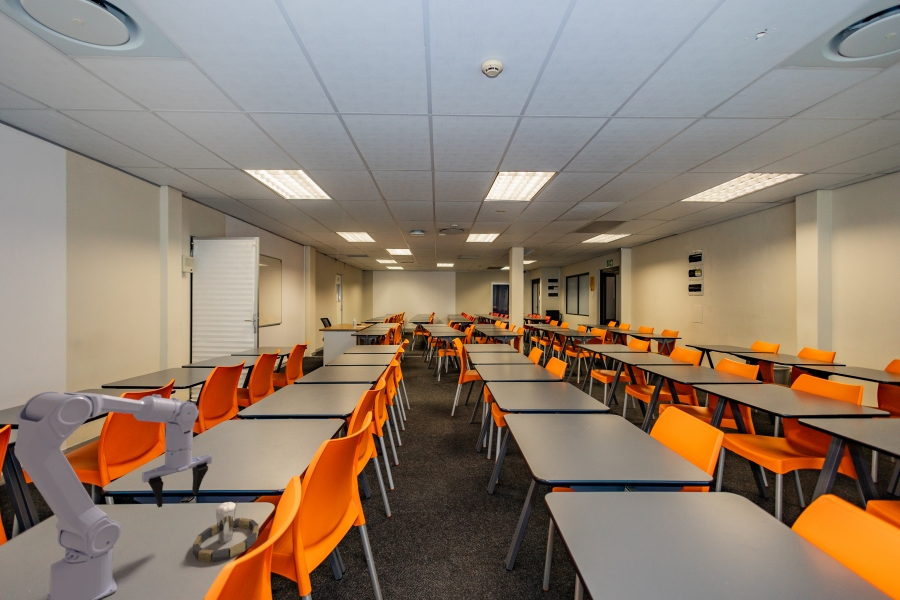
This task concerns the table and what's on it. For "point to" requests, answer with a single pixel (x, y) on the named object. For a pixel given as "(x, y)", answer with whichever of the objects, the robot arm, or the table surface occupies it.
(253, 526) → the ring
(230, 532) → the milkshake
